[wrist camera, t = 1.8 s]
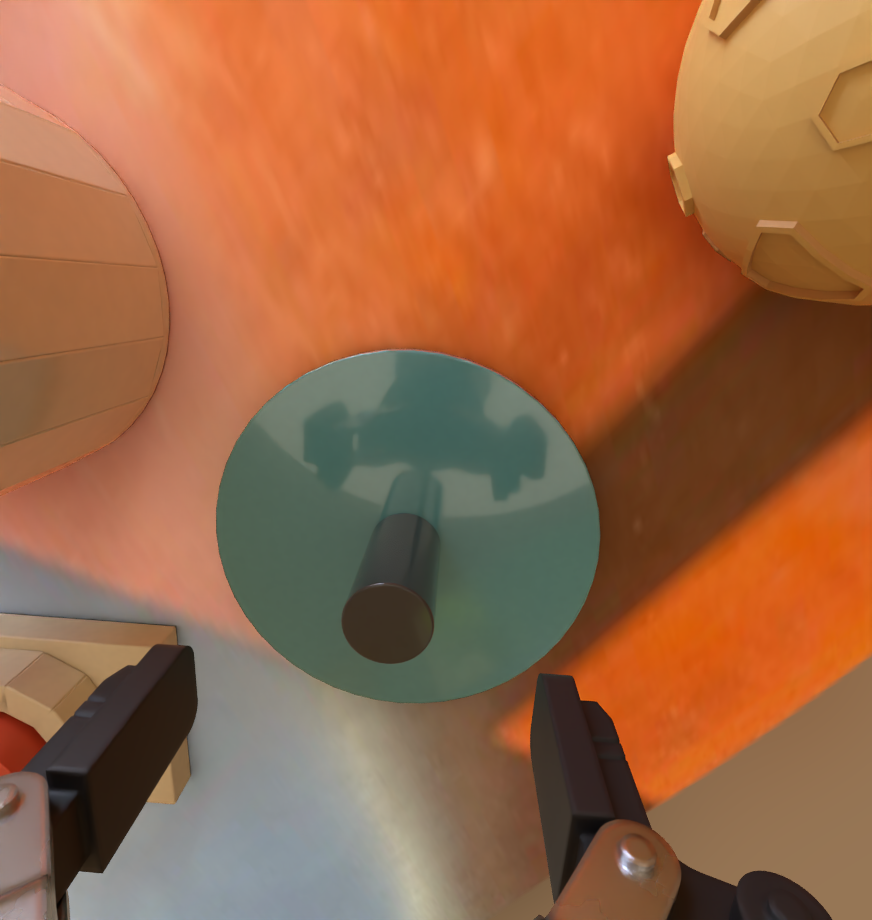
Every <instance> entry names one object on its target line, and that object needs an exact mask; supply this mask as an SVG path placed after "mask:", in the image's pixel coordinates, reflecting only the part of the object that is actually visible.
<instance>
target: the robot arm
mask: <svg viewBox="0 0 872 920" xmlns="http://www.w3.org/2000/svg"><path fill="white" fill-rule="evenodd" d="M197 705H198V698H197V686H196V674H195V662H194V652H193V649H192V648H191V647H190V646H181V645H168V644H156V645H154V646H153V647H152V648H151V649H150V650H149V651H148V652H147V653H146V655H145V656H144V657H143V658H142V659H141V660H140V661H139V663H138V664H137V665H136V666H134V665H127V666H125V667H124V668H122V669H121V670H119V671H117V672H116V673H114V674H113V675H111V676H110V677H108V678H106V679H105V680H104V681H103V682H102V683H101V684H100V685H99V686H98V687H97V688H96V690H95V691H94V692H93V693H92V694H91V695H90V696H89V697H88V700H87V701H85V702H84V703H83V704H82V705H81V706H80V707H79V708H78V709H77V710H76V711H75V714H74V716H71V717H70V718H69V719H68V720H67V721H66V722H65V723H64V724H63V725H62V727H61V728H60V729H59V730H58V731H57V732H56V733H55V734H54V735H53V736H52V737H51V739H50V740H49V741H48V742H47V743H46V744H45V745H44V746H43V747H42V748H41V749H40V751H39V752H38V753H37V754H36V755H35V756H34V757H33V758H32V759H31V760H30V761H29V763H28V764H27V765H26V766H25V767H24V768H23V769H22V770H21V771H20V772H15V773H10V774H6V775H3V776H0V920H70V907H69V896H68V891H67V889H68V887H69V886H70V884H71V883H72V881H73V880H74V878H75V877H76V875H77V874H78V872H79V871H82V872H94V873H103V872H104V870H105V869H106V867H107V865H108V864H109V862H110V860H111V859H112V857H113V855H114V854H115V852H116V851H117V849H118V847H119V846H120V844H121V842H122V841H123V839H124V838H125V836H126V834H127V833H128V831H129V829H130V828H131V826H132V825H133V823H134V821H135V820H136V818H137V816H138V815H139V813H140V812H141V810H142V808H143V807H144V805H145V803H146V802H147V800H148V798H149V797H150V795H151V794H152V792H153V790H154V789H155V787H156V785H157V784H158V782H159V781H160V779H161V777H162V776H163V774H164V772H165V771H166V769H167V768H168V766H169V764H170V763H171V761H172V759H173V758H174V756H175V755H176V753H177V751H178V750H179V748H180V746H181V745H182V743H183V741H184V740H185V738H186V737H187V735H188V733H189V732H190V730H191V728H192V726H193V723H194V720H195V717H196V712H197ZM530 748H531V759H532V766H533V772H534V779H535V785H536V791H537V798H538V804H539V811H540V817H541V823H542V830H543V836H544V842H545V849H546V855H547V862H548V868H549V874H550V881H551V887H552V893H553V899H554V906H553V908H552V909H551V911H550V912H549V914H548V915H547V916H546V917H545V918H544V917H542V916H541V915H538V916H537V917H536V918H535V919H534V920H832V919H831V917H830V915H829V914H828V913H827V911H826V910H825V909H824V907H823V906H822V905H821V904H820V903H819V902H818V901H817V900H816V899H815V898H814V897H813V896H812V895H811V894H810V893H809V892H807V891H806V890H805V889H803V888H802V887H801V886H799V885H798V884H796V883H795V882H793V881H791V880H789V879H788V878H785V877H783V876H781V875H778V874H775V873H772V872H767V871H753V872H750V873H747V874H745V875H744V876H743V877H742V878H741V879H740V881H739V883H738V886H737V887H736V886H734V885H731V884H729V883H726V882H723V881H721V880H718V879H716V878H713V877H710V876H708V875H705V874H703V873H700V872H698V871H696V870H694V869H692V868H690V867H688V866H686V865H685V864H683V863H682V862H681V861H679V860H678V859H677V857H676V855H675V853H674V851H673V850H672V848H671V847H670V845H669V844H668V843H667V842H666V841H665V840H664V839H663V838H662V837H661V836H660V835H659V834H658V833H656V832H655V831H654V830H652V828H651V826H650V823H649V820H648V818H647V815H646V812H645V809H644V807H643V804H642V801H641V798H640V795H639V793H638V790H637V787H636V784H635V782H634V779H633V776H632V773H631V771H630V768H629V765H628V762H627V761H626V760H625V754H624V751H623V748H622V746H621V744H620V743H619V737H618V735H617V732H616V729H615V726H614V723H613V721H612V719H611V718H610V717H609V716H608V714H607V713H606V712H605V711H604V710H603V709H602V707H601V706H600V705H599V704H598V703H597V702H594V701H581V700H580V697H579V694H578V691H577V687H576V684H575V681H574V678H573V677H572V676H568V675H555V674H541V673H540V674H539V676H538V679H537V686H536V694H535V701H534V709H533V716H532V724H531V734H530Z"/></svg>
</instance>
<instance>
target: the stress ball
mask: <svg viewBox="0 0 872 920" xmlns="http://www.w3.org/2000/svg"><path fill="white" fill-rule="evenodd" d="M673 120H674V145H675V153H673V154H671V155H669V156H667V159H668V165H669V170H670V176H671V179H672V183H673V186H674V189H675V192H676V195H677V198H678V202H679V204H680V206H681V208H682V210H683V212H684V214H685V216H686V217H687V216H689V215H691V214H693V213H694V215H695V217H696V219H697V221H698V222H699V224H700V226H701V227H702V228H703V236H704V238H705V239H706V240H707V241H708V242H709V244H710V245H711V246H712V247H713V249H714V250H715V251H716V252H717V253H719V254H720V255H722V256H723V257H724V258H726V259H727V260H729V261H730V262H731V261H733V262H734V263H735V264H737V265H738V266H739V267H740V268H742V269H741V274H742V275H744V276H745V277H747V278H749V279H750V280H752V281H753V282H755V283H756V284H758V285H759V286H761V287H762V288H764V289H766V290H769V291H772V292H775V293H779V294H782V295H785V296H789V297H792V298H799V299H807V300H814V301H822V302H832V303H840V304H848V305H856V306H861V305H872V0H702V3H701V5H700V7H699V9H698V12H697V14H696V17H695V20H694V23H693V25H692V28H691V31H690V34H689V36H688V39H687V42H686V45H685V48H684V53H683V57H682V61H681V66H680V70H679V74H678V78H677V86H676V96H675V106H674V116H673Z"/></svg>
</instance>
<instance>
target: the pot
mask: <svg viewBox="0 0 872 920" xmlns="http://www.w3.org/2000/svg"><path fill="white" fill-rule="evenodd" d="M168 337H169V300H168V293H167V287H166V280H165V275H164V271H163V268H162V264H161V260H160V257H159V253H158V250H157V247H156V245H155V242H154V240H153V237H152V235H151V232H150V230H149V227H148V225H147V223H146V221H145V219H144V217H143V215H142V213H141V212H140V210H139V208H138V206H137V204H136V202H135V200H134V199H133V197H132V196H131V194H130V193H129V191H128V190H127V188H126V187H125V185H124V184H123V183H122V181H121V180H120V178H119V177H118V175H117V174H116V173H115V172H114V171H113V169H112V168H111V167H110V166H109V165H108V163H107V162H106V161H105V160H104V159H103V158H102V156H101V155H100V154H99V153H98V152H97V151H96V150H95V149H94V148H93V147H92V146H91V145H90V144H89V143H88V142H86V141H85V140H84V139H83V138H82V137H81V136H80V135H79V134H78V133H77V132H76V131H74V130H73V129H72V128H70V127H69V126H68V125H66V124H65V123H64V122H62V121H61V120H60V119H58V118H57V117H56V116H54V115H53V114H51V113H49V112H48V111H46V110H44V109H42V108H41V107H39V106H37V105H35V104H34V103H32V102H30V101H29V100H26V99H25V98H23V97H22V96H20V95H19V94H17V93H16V92H14V91H12V90H11V89H9V88H7V87H5V86H3V85H1V84H0V496H2V495H5V494H7V493H9V492H11V491H14V490H16V489H18V488H20V487H23V486H25V485H27V484H29V483H32V482H34V481H36V480H38V479H41V478H43V477H45V476H47V475H50V474H52V473H54V472H56V471H59V470H61V469H63V468H66V467H68V466H70V465H71V464H73V463H75V462H77V461H79V460H81V459H83V458H84V457H86V456H88V455H90V454H92V453H95V452H97V451H99V450H101V449H102V448H104V447H105V446H107V445H108V444H110V443H112V442H113V441H114V440H116V439H117V438H118V437H119V436H120V435H121V434H122V433H124V432H125V431H126V430H127V429H128V428H129V427H130V426H131V425H132V424H133V423H134V421H135V420H136V419H137V418H138V416H139V415H140V414H141V413H142V412H143V410H144V408H145V407H146V405H147V403H148V401H149V400H150V398H151V396H152V395H153V393H154V390H155V388H156V385H157V383H158V381H159V378H160V376H161V373H162V369H163V365H164V361H165V357H166V353H167V346H168Z"/></svg>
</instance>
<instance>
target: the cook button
mask: <svg viewBox="0 0 872 920" xmlns="http://www.w3.org/2000/svg"><path fill="white" fill-rule="evenodd" d="M46 743H47V742H46V741H45V740H44V739H43V738H42V737H41V735H40V734H39V733H38V732H37V731H36V729H35V728H34V727H32V726H30V725H28V724H26V723H24V722H22V721H20V720H18V719H16V718H14V717H12V716H11V715H9V714H7V713H5V712H0V776H3V775H6V774H10V773H15V772H20V771H21V770H22V769H23V768H24V767H25V766H26V765H27V764H28V763H29V761H30V760H31V759H32V758H33V757H34V756H35V755H36V754H37V753H38V752H39V751H40V749H41V748H42V747H43V746H44V745H45V744H46Z"/></svg>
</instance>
